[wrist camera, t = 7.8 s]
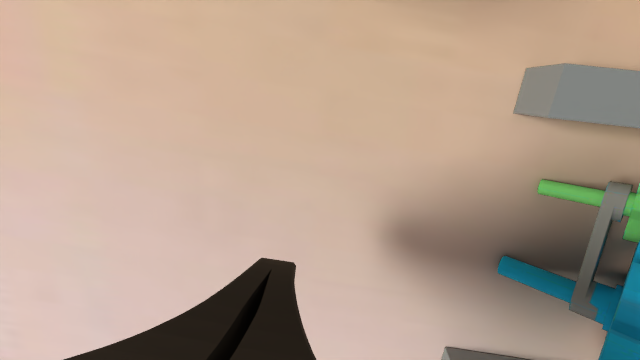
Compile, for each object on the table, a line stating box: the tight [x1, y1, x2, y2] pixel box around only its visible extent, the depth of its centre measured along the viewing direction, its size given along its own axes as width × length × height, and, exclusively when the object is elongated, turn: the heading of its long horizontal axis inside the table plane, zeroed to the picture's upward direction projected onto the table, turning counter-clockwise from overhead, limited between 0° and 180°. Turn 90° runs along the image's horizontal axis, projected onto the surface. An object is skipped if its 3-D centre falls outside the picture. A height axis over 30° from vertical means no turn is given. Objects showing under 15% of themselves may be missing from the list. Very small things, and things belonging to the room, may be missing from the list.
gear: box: [498, 179, 640, 360], centre depth 14 cm, size 11×6×10 cm
